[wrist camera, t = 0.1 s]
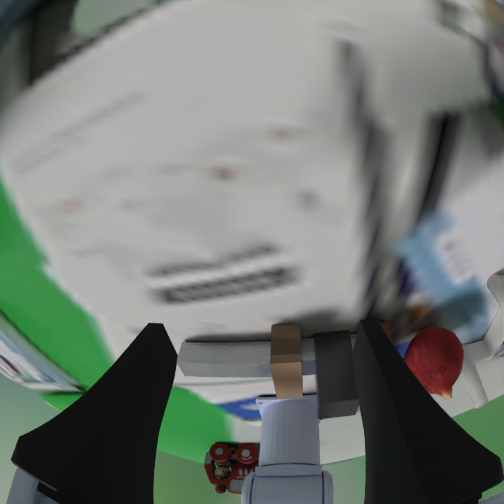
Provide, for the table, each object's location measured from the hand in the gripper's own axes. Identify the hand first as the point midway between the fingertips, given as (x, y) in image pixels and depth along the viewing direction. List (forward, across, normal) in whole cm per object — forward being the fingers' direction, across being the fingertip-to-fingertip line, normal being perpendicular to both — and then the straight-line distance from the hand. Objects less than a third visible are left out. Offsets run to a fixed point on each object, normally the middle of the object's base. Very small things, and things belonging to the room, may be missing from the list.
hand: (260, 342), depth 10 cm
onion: (+10, -14, +13) cm, 22 cm away
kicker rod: (+10, 0, +13) cm, 17 cm away
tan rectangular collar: (+10, -1, +13) cm, 17 cm away
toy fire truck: (+10, +9, +48) cm, 50 cm away
